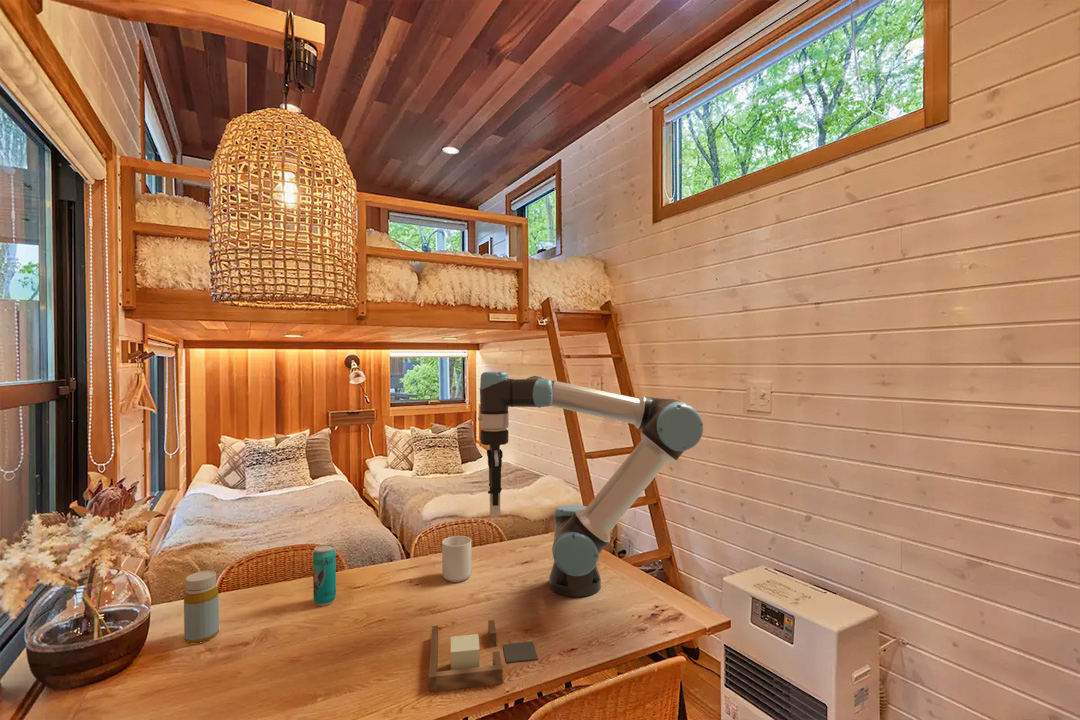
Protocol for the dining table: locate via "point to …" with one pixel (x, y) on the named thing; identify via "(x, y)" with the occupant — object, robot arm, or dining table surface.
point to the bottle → (201, 607)
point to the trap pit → (520, 652)
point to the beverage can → (324, 575)
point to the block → (465, 652)
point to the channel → (464, 676)
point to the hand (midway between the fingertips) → (495, 516)
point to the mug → (456, 558)
